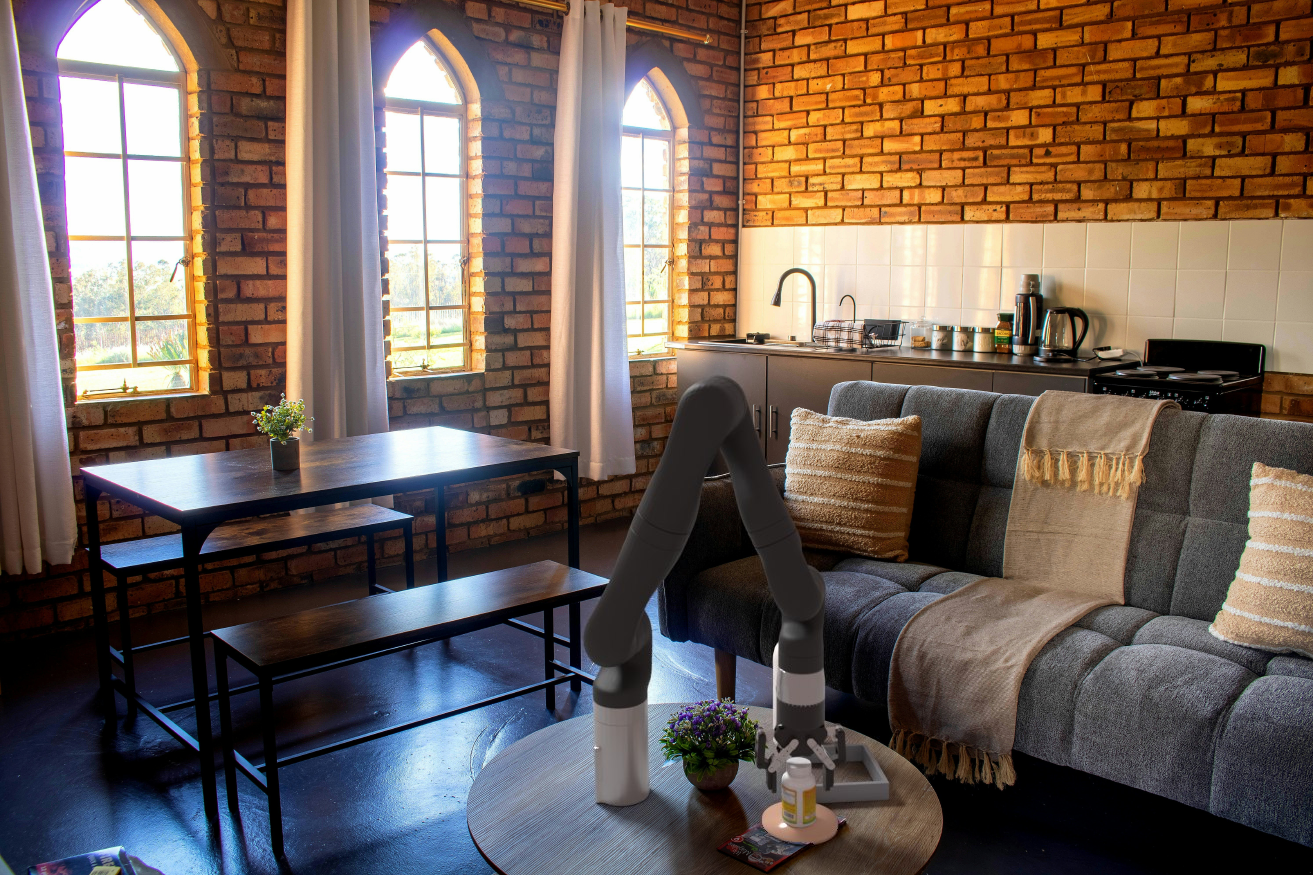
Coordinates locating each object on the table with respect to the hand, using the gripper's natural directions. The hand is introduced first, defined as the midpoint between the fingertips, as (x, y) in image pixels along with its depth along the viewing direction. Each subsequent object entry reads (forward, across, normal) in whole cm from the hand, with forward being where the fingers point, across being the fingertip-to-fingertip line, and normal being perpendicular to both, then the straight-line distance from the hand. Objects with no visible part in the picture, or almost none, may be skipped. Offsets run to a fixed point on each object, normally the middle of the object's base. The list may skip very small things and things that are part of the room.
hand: (799, 789), depth 160 cm
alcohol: (+6, +5, +28) cm, 29 cm away
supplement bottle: (+5, 0, 0) cm, 5 cm away
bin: (+6, +9, +14) cm, 17 cm away
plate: (+6, 0, 0) cm, 6 cm away
